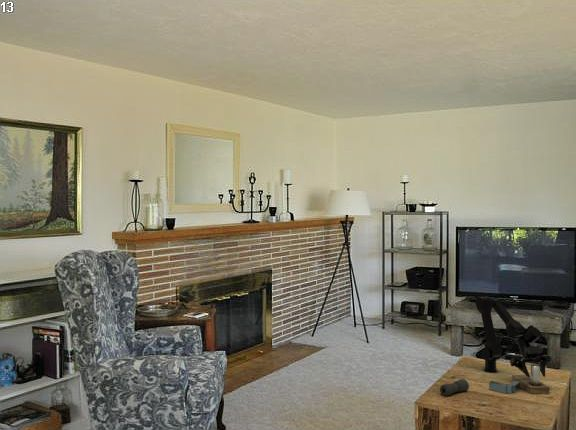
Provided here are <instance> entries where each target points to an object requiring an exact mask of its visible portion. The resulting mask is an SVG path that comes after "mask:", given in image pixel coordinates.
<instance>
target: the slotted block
mask: <svg viewBox="0 0 576 430" xmlns="http://www.w3.org/2000/svg"><path fill="white" fill-rule="evenodd" d="M529 376H530V377H527V376H526V375H525V374H521V375H520V374H519V375H518V374H517V375H516V374H513V375H512V376H511V382H512V381H519V382H520V389H523V390H524V389H525V390H524V391H526V392H528V393H529V394H530V395H541V394H543V395H546V394H547V395H548V394H550V387H549V385H546V384H545V383H543V382H541V381H540V386H532V385H531V374H529Z"/></svg>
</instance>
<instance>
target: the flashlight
mask: <svg viewBox="0 0 576 430" xmlns="http://www.w3.org/2000/svg"><path fill="white" fill-rule="evenodd" d="M468 390H470V383H469V381H468V380H467V379H465V378H461V379H458V380H455V381H454V382H452V383H444V384H442V385H440V387H439V392H440V394H441V395H442V396H445V397H448V396H450V395H452V394H455V393H460V392H461V393H462V392H466V391H468Z"/></svg>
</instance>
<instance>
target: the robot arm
mask: <svg viewBox="0 0 576 430" xmlns="http://www.w3.org/2000/svg"><path fill="white" fill-rule="evenodd" d="M474 303H475V306H476V309H477V310H478V312H479V313H480V315H481V320H482V321H481V322H482V325H483V331H484V335H485V340H486V341H485V344H484V351H483V352H482V353H481V354H480V357H481V359H482V360H484V367H483V371H484V372H488V373H498V368H497V360H500V359H501V356H502V355H503V350H504V349H503V347H502V346H503V345H502V342H499V341H498V340H497V339H496V338H497V337H496V333H495V328H494V323H493V318H492V310H494V311H495V312H496V314H497V315H498V317H499V318H500V319H501V321H502V322H503V323H504V325H505V330H506V331H507V333H508V335H509V336H510V337H511V338H514V337H515V339H514V341H513V344H516V345H518V346H517V347H518V348H519V350H520V351H519V355H513V356H512V357H511V358H510V361H509V364H510V367H515V368H517V369H518V370H519V371H521V373H523V375H526V376H527V377H530V376H531V375H530V373H529V370H528V367H527V364H526V363H537V364H538V365H539V366H540V374H541V376H542V377H543V378H545V377H546V366H548V365H550V364H551V362H552V361H553V358H552V356H551V355H548V354H544V355H543V354H542V355H541V356H540V357H538V356H539V354H541V353H543V352H544V347H543V346H542V345H541V344H538V345H536V346H534V345H533V346H532V344H533V343H534V342H535V341H537V340H538V339H539V338H541V336H542V332H541V330H540V329H538V328H537V327H534V325H531V324H530V325H529V326H527V328H526V327H524V325H522V323H520V321H518V320H515V318H514V317H513V316H512V314H510V312H509V311H508V310H507V308H506V307H505V306H504V305H503V304H502V303H503V302H502V301H501V300H500V299H499V298H491V297H490V296H478V297H476V299H475V300H474ZM529 375H530V376H529Z"/></svg>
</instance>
